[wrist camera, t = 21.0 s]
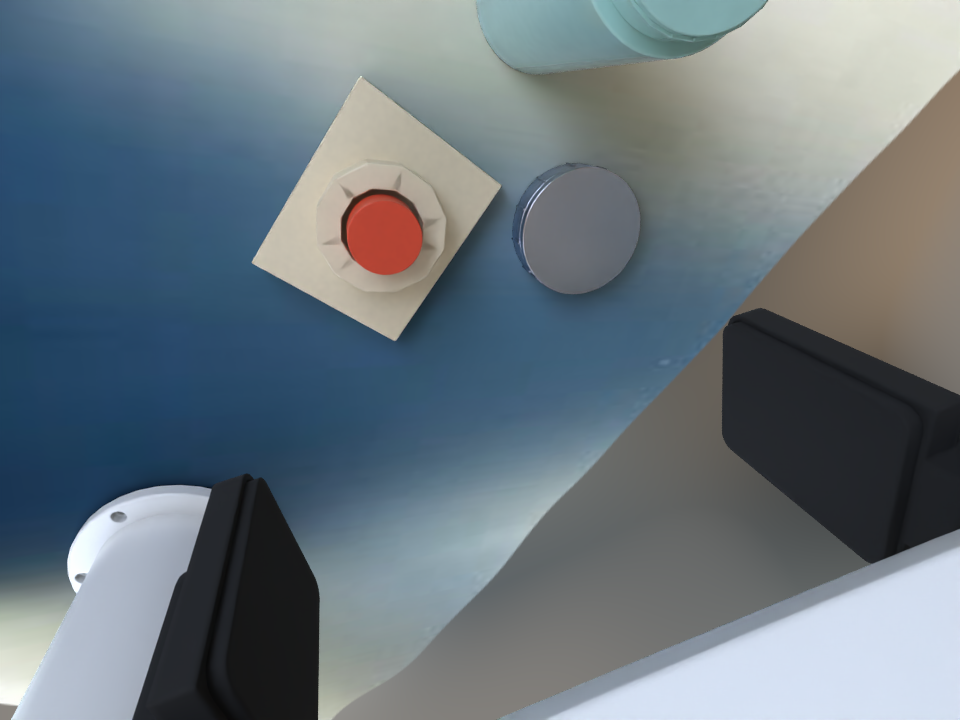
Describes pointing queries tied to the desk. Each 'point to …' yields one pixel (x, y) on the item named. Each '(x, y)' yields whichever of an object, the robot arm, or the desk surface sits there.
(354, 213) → the power button
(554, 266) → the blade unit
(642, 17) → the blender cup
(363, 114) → the cream base plate
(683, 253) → the desk surface
